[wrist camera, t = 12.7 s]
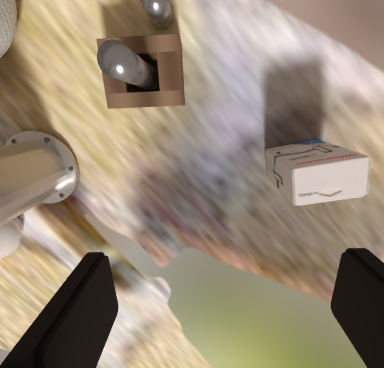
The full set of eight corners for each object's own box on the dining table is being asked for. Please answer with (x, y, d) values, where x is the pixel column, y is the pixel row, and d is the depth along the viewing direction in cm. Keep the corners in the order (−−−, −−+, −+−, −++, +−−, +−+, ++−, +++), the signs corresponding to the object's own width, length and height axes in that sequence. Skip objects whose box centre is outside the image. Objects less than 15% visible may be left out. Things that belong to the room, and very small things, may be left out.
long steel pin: (138, 67, 32) (94, 40, 19) (158, 66, 32) (128, 38, 18) (140, 90, 33) (100, 78, 20) (160, 89, 33) (133, 77, 19)
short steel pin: (152, 30, 30) (141, 12, 25) (149, 3, 29) (137, -21, 24) (173, 28, 30) (167, 10, 24) (172, 2, 29) (165, -23, 23)
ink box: (318, 138, 34) (375, 153, 23) (318, 168, 36) (371, 195, 25) (263, 148, 35) (292, 167, 24) (266, 177, 37) (294, 207, 26)
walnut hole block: (120, 108, 34) (108, 108, 29) (112, 49, 31) (96, 38, 26) (184, 105, 33) (182, 104, 29) (181, 44, 31) (178, 33, 26)
